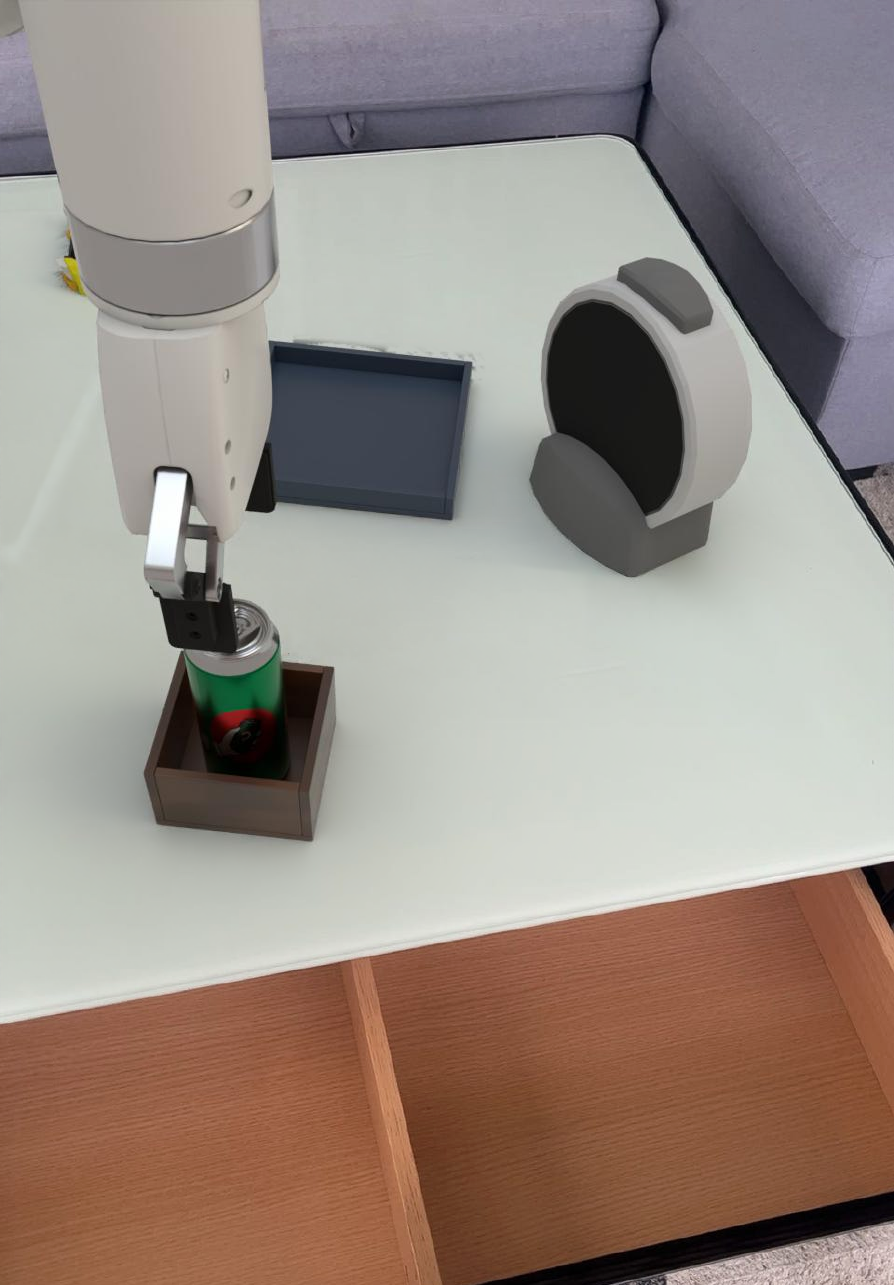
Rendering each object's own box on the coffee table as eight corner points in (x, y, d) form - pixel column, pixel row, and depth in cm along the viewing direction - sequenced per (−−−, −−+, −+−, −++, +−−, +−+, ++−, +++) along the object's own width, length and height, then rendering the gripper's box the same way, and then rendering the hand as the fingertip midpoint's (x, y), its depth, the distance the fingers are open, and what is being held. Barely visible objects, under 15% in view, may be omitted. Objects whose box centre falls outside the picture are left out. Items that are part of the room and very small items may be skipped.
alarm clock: (497, 468, 89) (523, 234, 74) (604, 425, 92) (649, 194, 77) (631, 603, 81) (689, 373, 66) (741, 550, 85) (820, 322, 70)
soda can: (308, 764, 71) (299, 627, 61) (246, 814, 69) (226, 680, 59) (251, 718, 73) (232, 578, 63) (188, 765, 71) (159, 627, 61)
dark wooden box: (156, 824, 69) (142, 773, 65) (191, 703, 74) (180, 649, 70) (312, 841, 69) (309, 792, 65) (336, 719, 74) (334, 666, 70)
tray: (229, 496, 85) (226, 474, 84) (270, 362, 95) (268, 339, 93) (452, 520, 85) (453, 498, 83) (470, 383, 94) (472, 361, 93)
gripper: (134, 117, 49) (189, 453, 63) (3, 365, 39) (104, 700, 53) (313, 134, 49) (329, 467, 63) (228, 387, 39) (270, 717, 53)
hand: (226, 573), depth 58 cm, fingers open, 9 cm apart
